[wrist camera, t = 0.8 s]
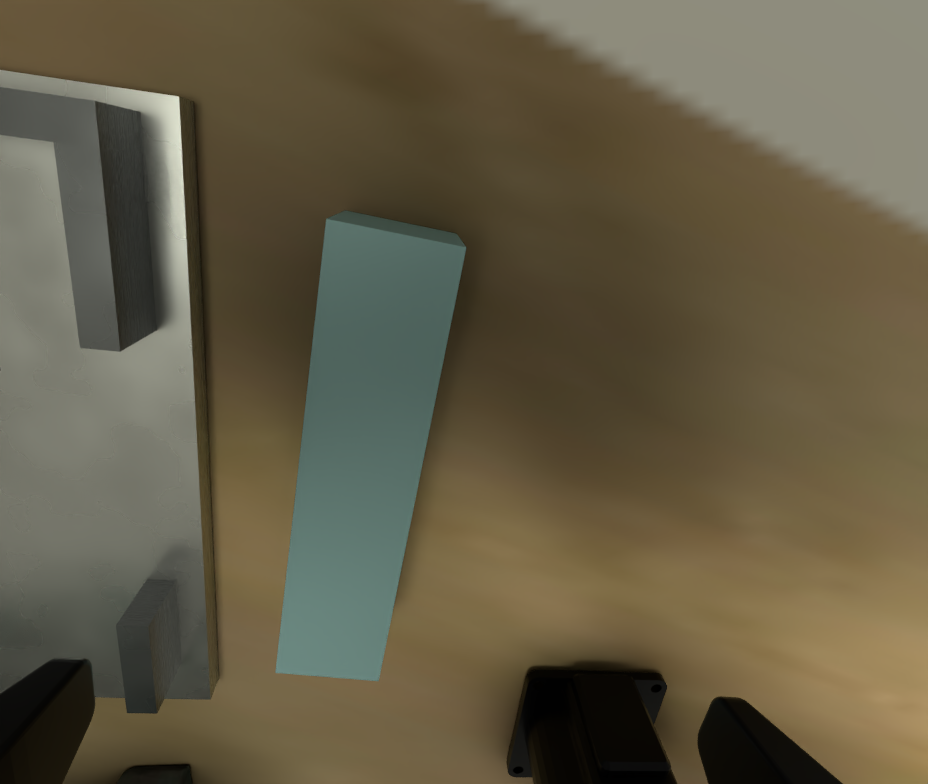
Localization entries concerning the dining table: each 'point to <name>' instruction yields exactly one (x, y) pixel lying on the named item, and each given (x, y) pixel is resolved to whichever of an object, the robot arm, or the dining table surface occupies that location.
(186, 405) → the cup bracket
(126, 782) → the ceramic cat
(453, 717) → the dining table surface
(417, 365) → the rail
